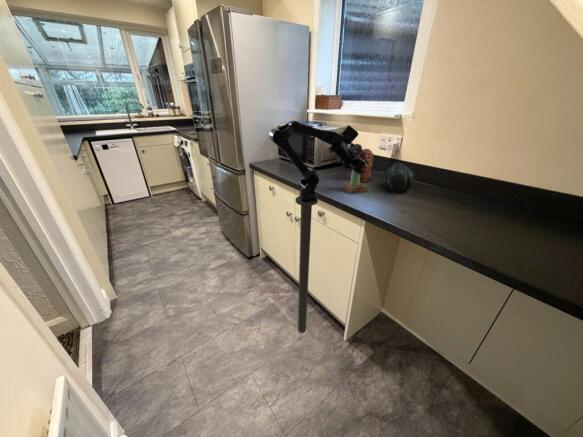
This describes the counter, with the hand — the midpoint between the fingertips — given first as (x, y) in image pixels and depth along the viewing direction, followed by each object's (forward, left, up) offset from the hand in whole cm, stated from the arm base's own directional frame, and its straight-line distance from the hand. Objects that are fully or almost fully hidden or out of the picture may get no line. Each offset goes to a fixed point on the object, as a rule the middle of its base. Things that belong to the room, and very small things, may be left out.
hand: (358, 172), depth 120 cm
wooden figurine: (+14, +11, -10) cm, 20 cm away
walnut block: (-1, 0, -10) cm, 10 cm away
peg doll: (-1, 0, -7) cm, 7 cm away
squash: (+20, -9, -10) cm, 24 cm away
